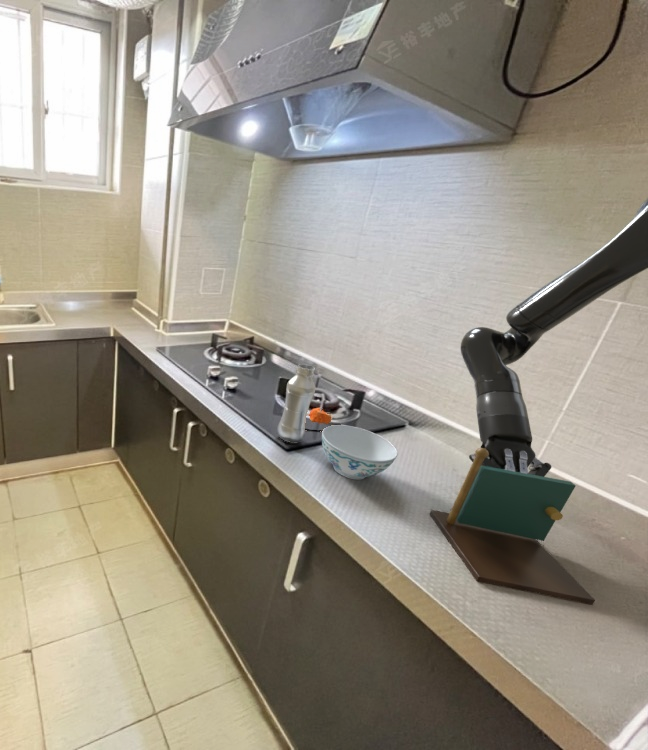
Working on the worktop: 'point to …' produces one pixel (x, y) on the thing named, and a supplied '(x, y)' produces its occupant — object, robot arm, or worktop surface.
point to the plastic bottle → (297, 404)
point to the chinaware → (357, 451)
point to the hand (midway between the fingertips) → (516, 509)
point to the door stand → (505, 552)
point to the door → (515, 502)
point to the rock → (319, 416)
